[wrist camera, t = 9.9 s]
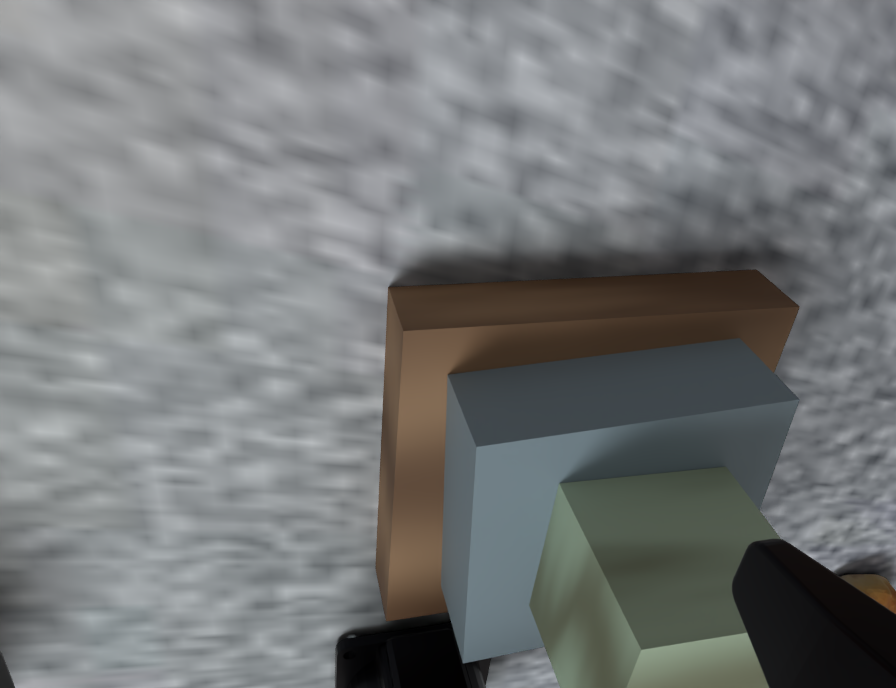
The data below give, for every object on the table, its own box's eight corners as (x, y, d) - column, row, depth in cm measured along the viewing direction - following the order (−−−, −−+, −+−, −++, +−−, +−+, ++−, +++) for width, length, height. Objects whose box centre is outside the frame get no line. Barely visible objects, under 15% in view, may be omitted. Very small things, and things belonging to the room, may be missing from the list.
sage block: (678, 584, 24) (767, 737, 20) (529, 605, 23) (592, 772, 19) (725, 466, 21) (840, 617, 18) (559, 483, 20) (641, 649, 16)
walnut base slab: (659, 517, 32) (695, 574, 30) (372, 554, 29) (386, 621, 27) (745, 259, 25) (799, 306, 23) (384, 275, 22) (403, 330, 20)
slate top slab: (680, 541, 28) (723, 609, 26) (440, 585, 26) (462, 663, 24) (739, 337, 23) (799, 399, 21) (447, 374, 21) (476, 446, 19)
